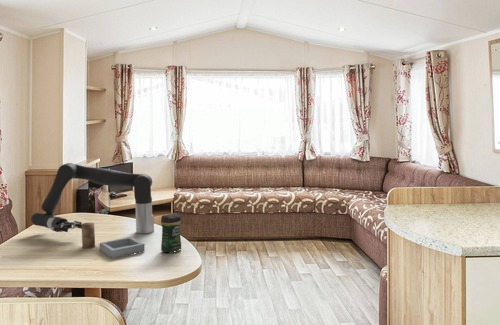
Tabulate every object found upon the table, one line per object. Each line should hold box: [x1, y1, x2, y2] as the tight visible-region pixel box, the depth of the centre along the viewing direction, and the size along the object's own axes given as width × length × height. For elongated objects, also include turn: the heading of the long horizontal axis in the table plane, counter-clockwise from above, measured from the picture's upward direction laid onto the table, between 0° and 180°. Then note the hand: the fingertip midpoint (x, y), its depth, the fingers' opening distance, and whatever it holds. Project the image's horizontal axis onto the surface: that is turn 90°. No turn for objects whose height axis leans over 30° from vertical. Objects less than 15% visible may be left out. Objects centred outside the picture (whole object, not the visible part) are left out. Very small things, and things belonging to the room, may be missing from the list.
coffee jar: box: [160, 212, 182, 253], centre depth 207 cm, size 10×8×19 cm
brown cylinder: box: [81, 222, 96, 250], centre depth 214 cm, size 6×6×12 cm
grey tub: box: [99, 236, 146, 260], centre depth 207 cm, size 16×16×4 cm
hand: (74, 228), depth 220 cm, fingers open, 8 cm apart
